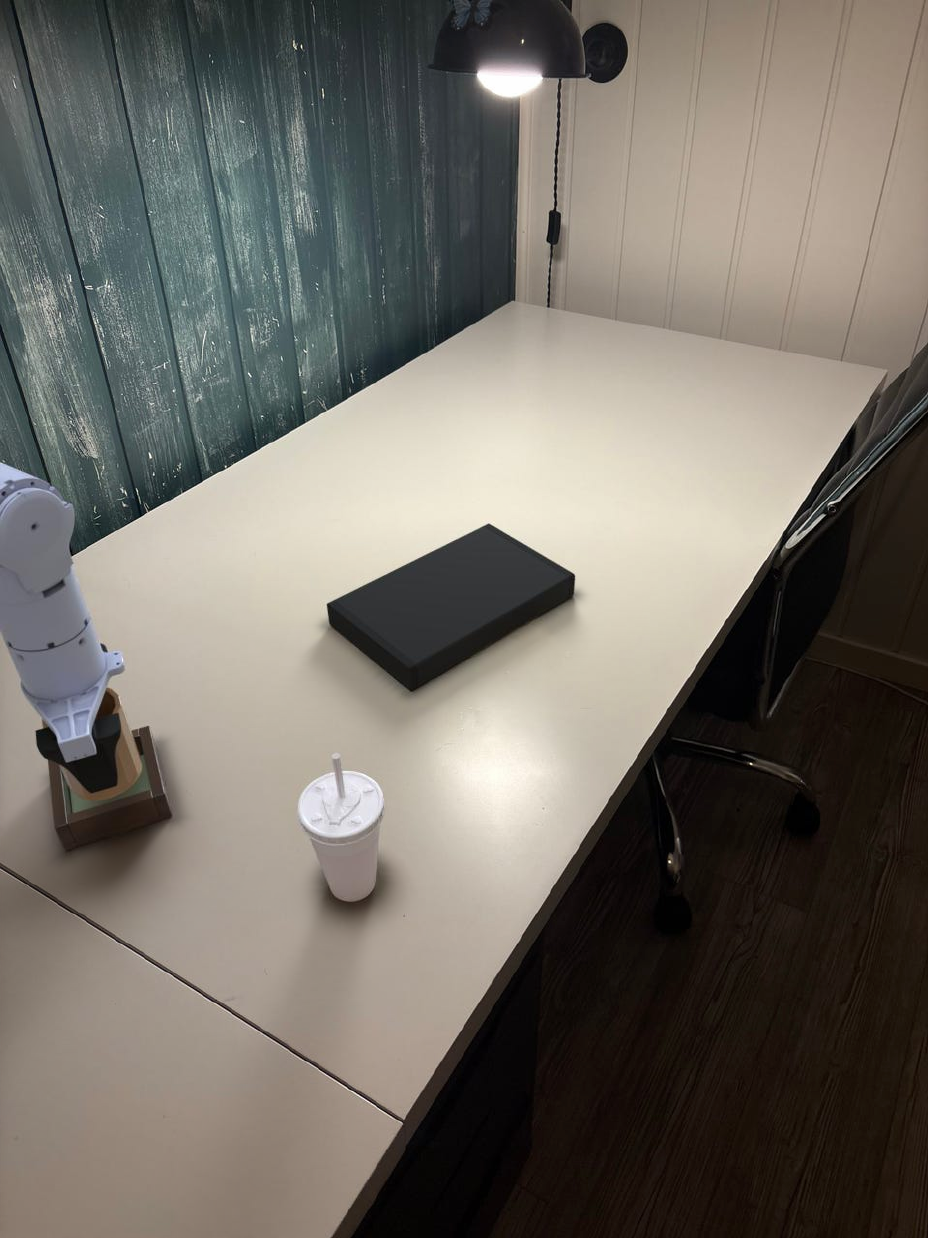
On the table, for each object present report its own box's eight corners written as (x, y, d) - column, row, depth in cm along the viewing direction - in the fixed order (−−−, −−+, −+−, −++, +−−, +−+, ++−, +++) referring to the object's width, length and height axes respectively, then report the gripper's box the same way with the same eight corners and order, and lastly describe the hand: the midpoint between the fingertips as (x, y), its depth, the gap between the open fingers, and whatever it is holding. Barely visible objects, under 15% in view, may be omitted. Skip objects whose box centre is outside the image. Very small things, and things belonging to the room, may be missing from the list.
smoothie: (398, 851, 75) (386, 732, 67) (385, 920, 70) (371, 800, 62) (322, 846, 76) (300, 726, 67) (303, 913, 71) (278, 794, 62)
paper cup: (72, 810, 70) (44, 746, 66) (66, 760, 74) (39, 697, 70) (146, 787, 72) (124, 724, 67) (137, 739, 76) (115, 677, 71)
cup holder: (65, 851, 76) (54, 828, 74) (57, 777, 82) (46, 754, 80) (172, 816, 79) (165, 793, 77) (156, 748, 85) (149, 725, 83)
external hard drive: (329, 624, 99) (326, 602, 97) (488, 543, 110) (488, 522, 109) (411, 691, 90) (410, 669, 88) (574, 596, 102) (575, 574, 100)
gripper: (118, 673, 59) (165, 809, 68) (96, 556, 70) (139, 687, 78) (2, 704, 57) (65, 841, 66) (-3, 579, 68) (52, 711, 76)
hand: (99, 759), depth 72 cm, fingers closed on paper cup, 5 cm apart
